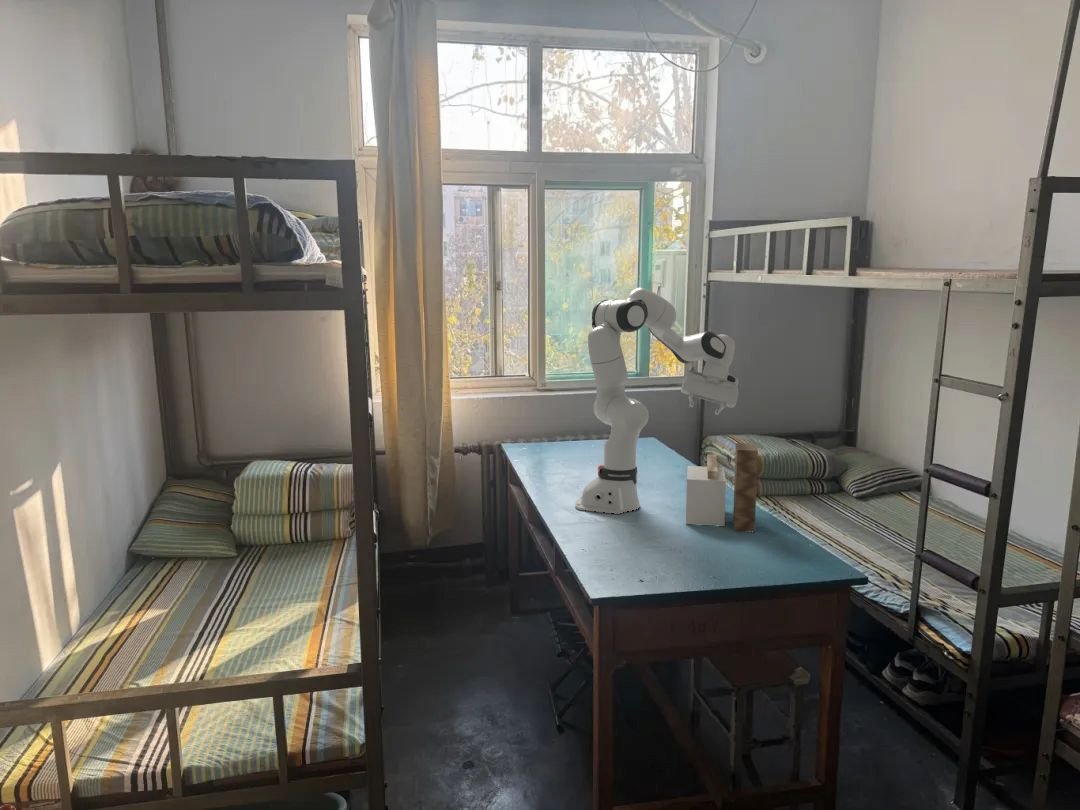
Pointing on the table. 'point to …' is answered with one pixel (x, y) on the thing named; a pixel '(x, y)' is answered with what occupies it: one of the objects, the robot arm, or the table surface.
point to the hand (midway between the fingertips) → (703, 410)
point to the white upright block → (705, 497)
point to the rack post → (745, 487)
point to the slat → (712, 466)
